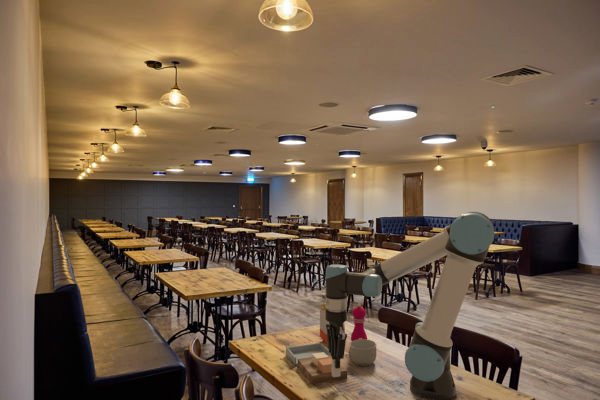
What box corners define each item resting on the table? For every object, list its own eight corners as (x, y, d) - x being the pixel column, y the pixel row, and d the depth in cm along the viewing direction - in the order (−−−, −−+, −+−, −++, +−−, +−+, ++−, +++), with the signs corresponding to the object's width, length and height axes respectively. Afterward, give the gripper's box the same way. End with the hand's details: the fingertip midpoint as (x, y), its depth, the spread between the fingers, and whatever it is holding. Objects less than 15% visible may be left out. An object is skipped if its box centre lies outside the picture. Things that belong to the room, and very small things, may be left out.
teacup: (376, 369, 157) (376, 349, 157) (348, 367, 159) (348, 347, 159) (376, 355, 170) (376, 337, 170) (351, 353, 172) (351, 335, 172)
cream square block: (328, 364, 154) (328, 356, 154) (316, 366, 152) (316, 358, 152) (323, 359, 159) (323, 352, 159) (311, 361, 157) (311, 353, 157)
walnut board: (347, 378, 149) (347, 370, 149) (312, 384, 144) (312, 375, 144) (329, 361, 164) (330, 354, 164) (297, 366, 159) (297, 359, 159)
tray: (331, 360, 165) (331, 352, 165) (294, 366, 159) (294, 357, 159) (320, 350, 176) (320, 342, 176) (286, 355, 170) (286, 347, 170)
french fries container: (324, 338, 191) (324, 300, 191) (345, 342, 185) (345, 304, 185) (319, 341, 187) (319, 302, 187) (340, 346, 181) (340, 306, 181)
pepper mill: (352, 344, 183) (352, 300, 183) (368, 346, 181) (368, 302, 181) (349, 350, 176) (349, 305, 176) (365, 352, 174) (365, 306, 174)
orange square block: (335, 371, 148) (335, 363, 148) (323, 373, 146) (323, 365, 146) (330, 366, 153) (330, 358, 153) (318, 368, 151) (318, 360, 151)
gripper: (319, 305, 146) (319, 369, 146) (334, 315, 134) (333, 385, 134) (338, 303, 149) (337, 367, 149) (354, 313, 136) (354, 382, 137)
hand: (336, 375), depth 142 cm, fingers closed
